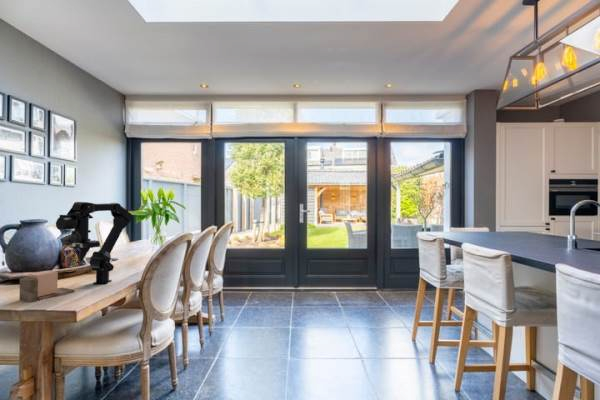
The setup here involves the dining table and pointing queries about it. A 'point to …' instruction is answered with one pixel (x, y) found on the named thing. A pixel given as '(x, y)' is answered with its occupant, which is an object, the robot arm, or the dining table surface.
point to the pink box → (46, 282)
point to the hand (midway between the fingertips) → (80, 261)
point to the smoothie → (70, 257)
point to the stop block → (31, 290)
